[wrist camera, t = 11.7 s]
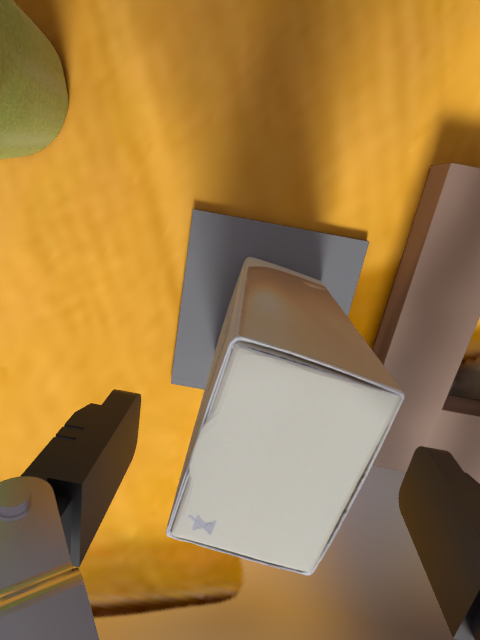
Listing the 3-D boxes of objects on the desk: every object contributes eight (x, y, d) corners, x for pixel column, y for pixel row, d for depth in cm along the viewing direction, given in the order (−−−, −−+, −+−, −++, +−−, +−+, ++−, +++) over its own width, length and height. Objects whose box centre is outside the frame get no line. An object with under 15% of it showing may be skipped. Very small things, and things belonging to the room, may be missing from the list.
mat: (367, 240, 20) (369, 241, 19) (320, 406, 23) (321, 410, 23) (194, 208, 19) (193, 209, 19) (172, 380, 23) (170, 383, 22)
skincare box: (283, 378, 22) (310, 590, 10) (211, 356, 22) (157, 547, 10) (326, 274, 20) (419, 396, 8) (247, 248, 20) (229, 336, 8)
